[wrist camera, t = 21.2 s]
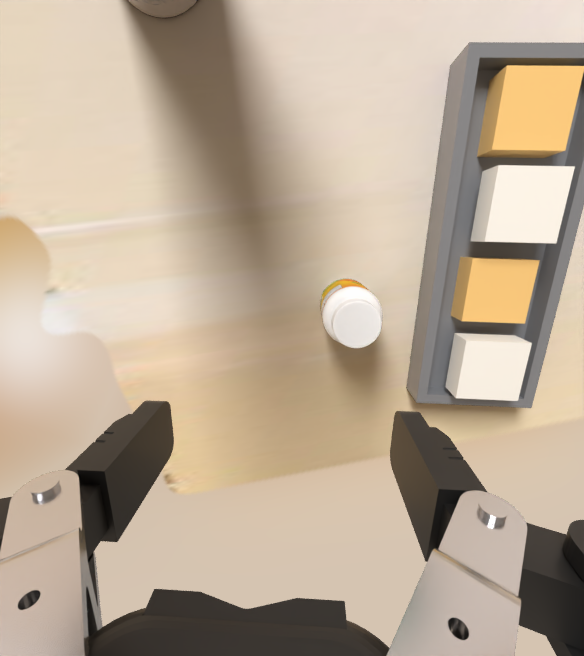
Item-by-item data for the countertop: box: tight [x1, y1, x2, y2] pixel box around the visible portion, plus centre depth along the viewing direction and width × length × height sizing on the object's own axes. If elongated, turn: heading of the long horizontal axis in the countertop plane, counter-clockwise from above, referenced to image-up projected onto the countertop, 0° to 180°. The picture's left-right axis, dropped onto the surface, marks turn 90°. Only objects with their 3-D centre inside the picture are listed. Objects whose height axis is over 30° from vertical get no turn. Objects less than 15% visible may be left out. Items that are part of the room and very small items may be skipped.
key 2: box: [471, 165, 575, 243], centre depth 28 cm, size 6×6×2 cm
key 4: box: [445, 333, 532, 401], centre depth 32 cm, size 6×6×2 cm
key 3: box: [451, 257, 540, 324], centre depth 31 cm, size 6×6×2 cm
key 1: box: [477, 65, 584, 158], centre depth 27 cm, size 6×6×2 cm
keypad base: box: [406, 42, 584, 408], centre depth 31 cm, size 32×12×4 cm, turn 178°
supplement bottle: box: [320, 279, 383, 348], centre depth 30 cm, size 5×5×10 cm
